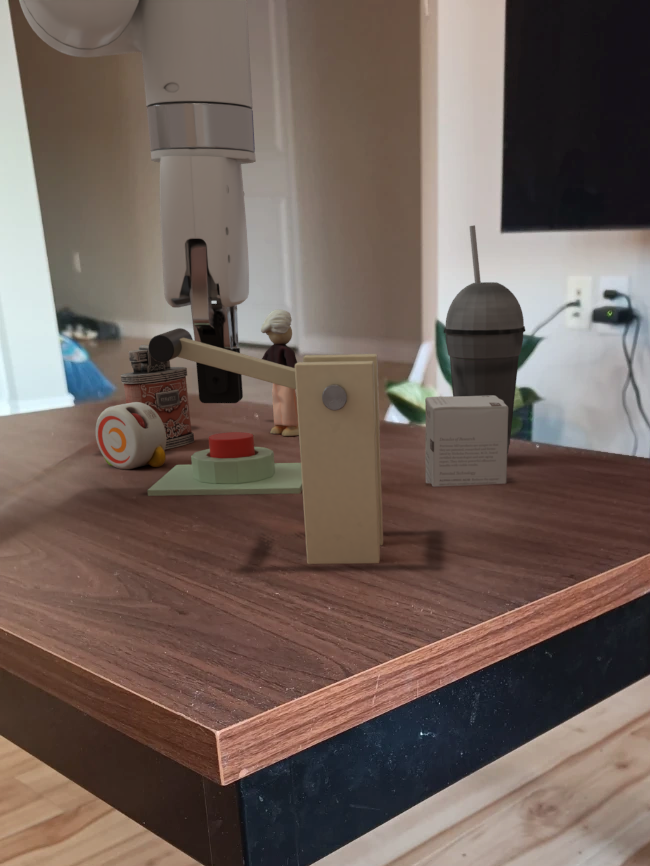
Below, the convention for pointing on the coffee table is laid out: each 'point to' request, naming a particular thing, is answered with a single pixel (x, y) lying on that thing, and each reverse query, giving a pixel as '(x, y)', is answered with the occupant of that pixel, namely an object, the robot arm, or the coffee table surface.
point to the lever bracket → (340, 457)
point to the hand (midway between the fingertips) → (221, 401)
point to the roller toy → (131, 436)
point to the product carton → (466, 440)
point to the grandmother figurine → (282, 354)
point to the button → (231, 445)
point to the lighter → (160, 394)
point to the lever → (218, 358)
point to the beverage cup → (485, 339)
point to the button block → (230, 476)
